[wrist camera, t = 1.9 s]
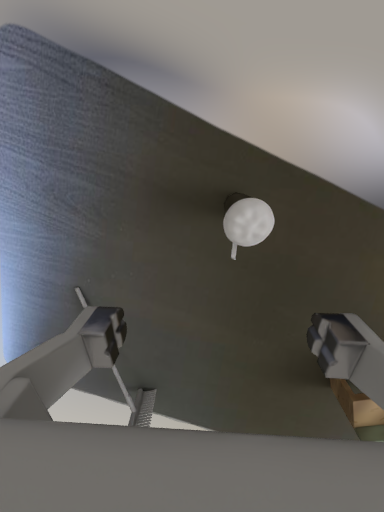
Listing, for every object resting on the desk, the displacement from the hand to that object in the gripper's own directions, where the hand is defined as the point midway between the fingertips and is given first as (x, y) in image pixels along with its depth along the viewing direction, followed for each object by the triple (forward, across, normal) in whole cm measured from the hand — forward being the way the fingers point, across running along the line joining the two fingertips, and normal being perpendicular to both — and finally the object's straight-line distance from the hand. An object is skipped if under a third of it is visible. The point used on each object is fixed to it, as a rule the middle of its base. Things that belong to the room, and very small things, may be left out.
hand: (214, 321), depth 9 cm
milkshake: (+20, -3, -1) cm, 20 cm away
